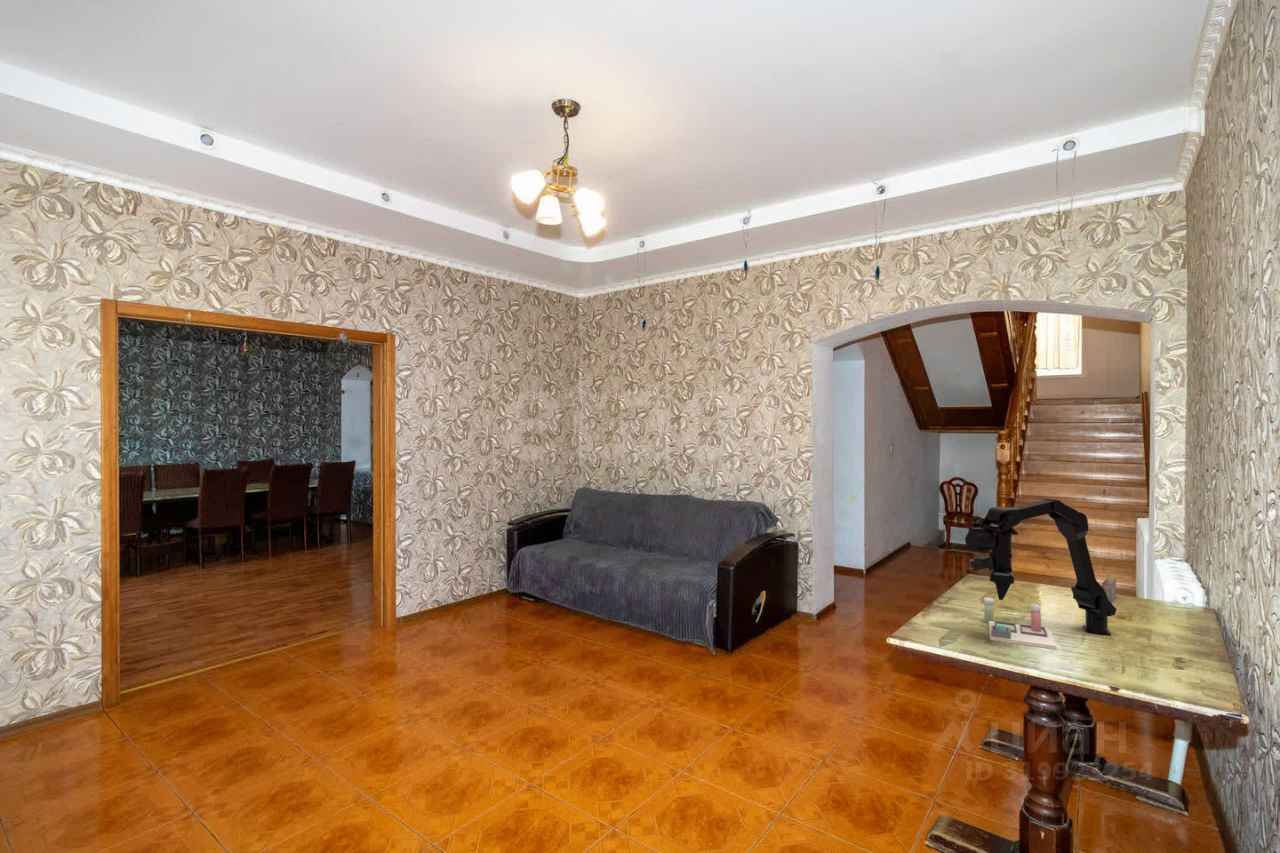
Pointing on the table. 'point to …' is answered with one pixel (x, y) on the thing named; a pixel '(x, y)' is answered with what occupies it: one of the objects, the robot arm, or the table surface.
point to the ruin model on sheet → (1110, 586)
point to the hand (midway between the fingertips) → (1000, 599)
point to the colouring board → (1022, 635)
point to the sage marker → (988, 609)
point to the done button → (1000, 628)
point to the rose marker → (1035, 617)
